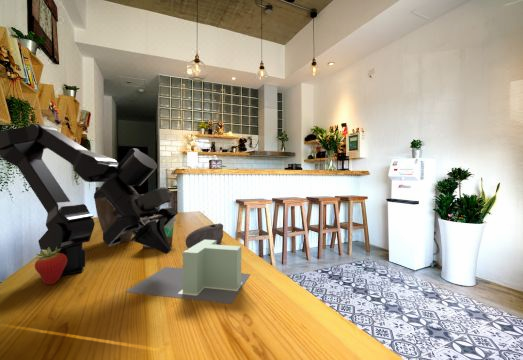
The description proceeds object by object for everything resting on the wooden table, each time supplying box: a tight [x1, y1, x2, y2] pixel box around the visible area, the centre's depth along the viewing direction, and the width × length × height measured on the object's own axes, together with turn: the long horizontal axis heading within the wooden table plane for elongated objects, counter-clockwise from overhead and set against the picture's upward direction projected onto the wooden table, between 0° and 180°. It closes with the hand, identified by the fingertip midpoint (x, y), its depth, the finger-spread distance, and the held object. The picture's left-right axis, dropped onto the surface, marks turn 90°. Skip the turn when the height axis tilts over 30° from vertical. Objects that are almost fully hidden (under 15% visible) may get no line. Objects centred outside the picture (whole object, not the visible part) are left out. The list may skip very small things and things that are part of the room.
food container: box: [142, 216, 177, 250], centre depth 82 cm, size 12×6×10 cm, turn 143°
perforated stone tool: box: [185, 223, 224, 249], centre depth 82 cm, size 15×5×7 cm, turn 139°
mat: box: [124, 266, 251, 305], centre depth 54 cm, size 22×14×1 cm, turn 79°
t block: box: [182, 240, 242, 294], centre depth 53 cm, size 10×10×8 cm
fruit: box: [34, 246, 67, 285], centre depth 54 cm, size 5×5×8 cm
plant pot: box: [94, 198, 134, 244], centre depth 89 cm, size 15×15×16 cm
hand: (169, 252), depth 55 cm, fingers closed
